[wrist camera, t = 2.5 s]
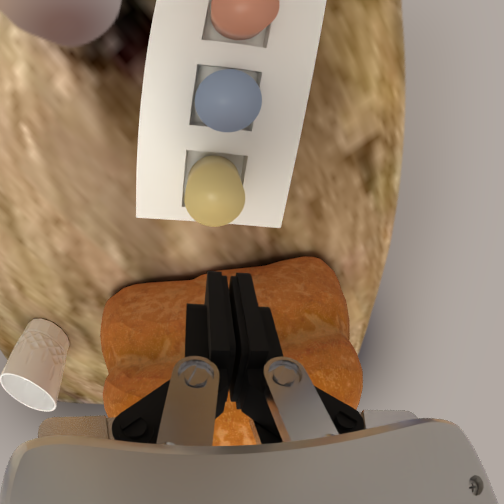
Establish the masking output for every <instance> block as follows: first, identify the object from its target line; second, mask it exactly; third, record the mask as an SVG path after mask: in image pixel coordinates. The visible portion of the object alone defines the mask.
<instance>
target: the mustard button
mask: <svg viewBox="0 0 504 504" xmlns="http://www.w3.org/2000/svg"><path fill="white" fill-rule="evenodd" d="M184 201H185V206H186V209H187V211H188V213H189V215H190V216H191V217H192V218H193V219H194V220H195V221H197V222H198V223H200V224H203V225H206V226H211V227H217V226H223V225H226V224H228V223H230V222H232V221H233V220H235V219H236V218H237V217H238V216H239V215H240V213H241V212H242V210H243V208H244V205H245V191H244V188H243V185H242V182H241V179H240V176H239V173H238V170H237V168H236V166H235V165H234V164H233V163H232V162H231V161H230V160H228V159H227V158H225V157H222V156H217V155H212V156H206V157H204V158H201V159H200V160H198V161H197V162H196V163H195V164H194V165H193V166H192V168H191V169H190V171H189V174H188V180H187V185H186V191H185V199H184Z"/></svg>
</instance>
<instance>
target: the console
mask: <svg viewBox="0 0 504 504" xmlns="http://www.w3.org/2000/svg"><path fill="white" fill-rule="evenodd" d="M211 2H212V0H157V1H156V5H155V10H154V15H153V20H152V26H151V31H150V37H149V43H148V50H147V56H146V63H145V71H144V79H143V88H142V97H141V107H140V119H139V133H138V150H137V178H136V218H153V219H169V220H184V221H195V220H194V219H193V218H192V217H191V216H190V215H189V213H188V211H187V209H186V206H185V201H184V199H185V191H186V185H187V180H188V174H189V171H190V169H191V168H192V166H193V165H194V164H195V163H196V162H197V161H198V160H200V159H201V158H204V157H206V156H212V155H217V156H222V157H225V158H227V159H228V160H230V161H231V162H232V163H233V164H234V165H235V166H236V168H237V170H238V173H239V176H240V179H241V182H242V185H243V188H244V191H245V205H244V208H243V210H242V212H241V213H240V215H239V216H238V217H237V218H236V219H235V220H233V221H232V222H230V223H228V224H238V225H250V226H262V227H274V228H281V224H282V219H283V215H284V210H285V206H286V201H287V197H288V192H289V187H290V183H291V178H292V174H293V169H294V164H295V159H296V155H297V150H298V145H299V140H300V136H301V131H302V126H303V121H304V116H305V111H306V106H307V101H308V96H309V91H310V86H311V81H312V76H313V71H314V66H315V60H316V55H317V50H318V44H319V39H320V34H321V28H322V23H323V17H324V12H325V6H326V0H279V5H280V6H279V11H278V14H277V16H276V18H275V19H274V20H273V22H271V23H270V24H269V25H268V26H267V27H266V28H265V29H263V30H262V31H261V32H260V33H259V34H257V35H256V36H254V37H252V38H250V39H246V40H232V39H229V38H226V37H224V36H222V35H221V34H219V33H218V32H217V31H216V30H215V28H214V27H213V25H212V22H211ZM224 69H234V70H239V71H242V72H244V73H246V74H248V75H249V76H251V77H252V78H253V79H254V80H255V81H256V83H257V84H258V86H259V88H260V91H261V95H262V105H261V109H260V112H259V114H258V116H257V117H256V119H255V120H254V121H253V122H252V123H251V124H250V125H249V126H247V127H245V128H244V129H241V130H239V131H235V132H220V131H216V130H214V129H212V128H210V127H208V126H207V125H206V124H204V122H203V121H202V120H201V119H200V118H199V116H198V114H197V111H196V108H195V95H196V91H197V89H198V87H199V85H200V84H201V82H202V81H203V80H204V79H205V78H206V77H207V76H209V75H210V74H212V73H214V72H216V71H219V70H224Z"/></svg>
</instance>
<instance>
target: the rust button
mask: <svg viewBox="0 0 504 504" xmlns="http://www.w3.org/2000/svg"><path fill="white" fill-rule="evenodd" d="M279 6H280V5H279V0H212V2H211V22H212V25H213V27H214V28H215V30H216V31H217V32H218V33H219V34H221V35H222V36H224V37H226V38H229V39H232V40H246V39H250V38H252V37H254V36H256V35H257V34H259V33H260V32H261V31H262V30H263V29H265V28H266V27H267V26H268V25H269V24H270V23H271V22H273V20H274V19H275V18H276V16H277V14H278V11H279Z"/></svg>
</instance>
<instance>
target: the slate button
mask: <svg viewBox="0 0 504 504" xmlns="http://www.w3.org/2000/svg"><path fill="white" fill-rule="evenodd" d="M261 105H262V95H261V91H260V88H259V86H258V84H257V83H256V81H255V80H254V79H253V78H252V77H251V76H249V75H248V74H246V73H244V72H242V71H239V70H234V69H224V70H219V71H216V72H214V73H212V74H210V75H209V76H207V77H206V78H205V79H204V80H203V81H202V82H201V84H200V85H199V87H198V89H197V91H196V95H195V108H196V111H197V114H198V116H199V118H200V119H201V120H202V121H203V122H204V124H206V125H207V126H208V127H210V128H212V129H214V130H216V131H220V132H235V131H239V130H241V129H244V128H245V127H247V126H249V125H250V124H251V123H252V122H253V121H254V120H255V119H256V117H257V116H258V114H259V112H260V109H261Z"/></svg>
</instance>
